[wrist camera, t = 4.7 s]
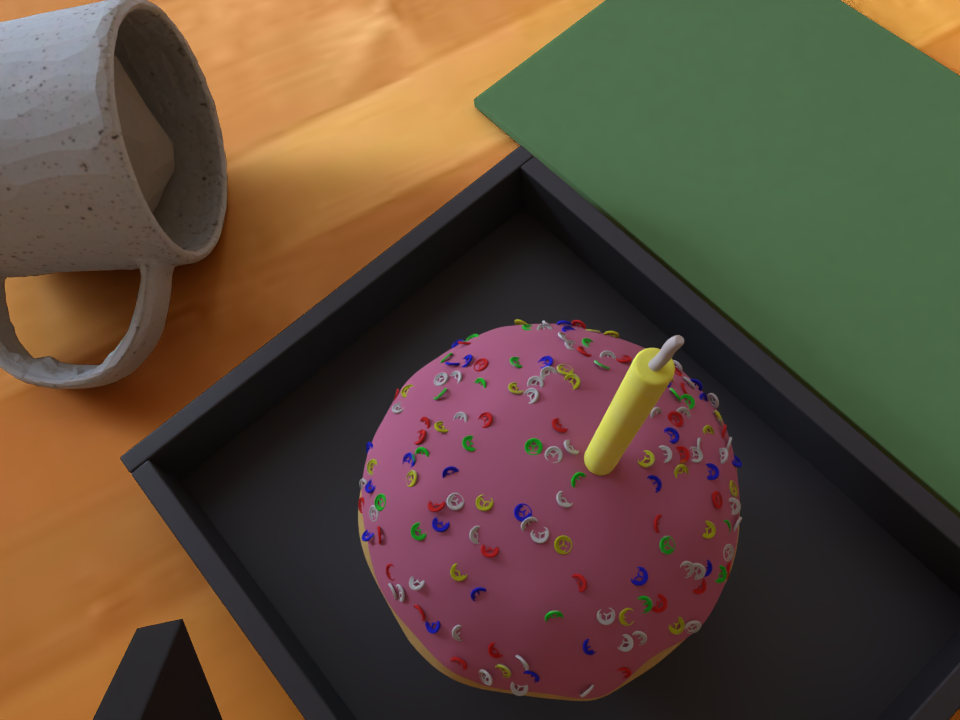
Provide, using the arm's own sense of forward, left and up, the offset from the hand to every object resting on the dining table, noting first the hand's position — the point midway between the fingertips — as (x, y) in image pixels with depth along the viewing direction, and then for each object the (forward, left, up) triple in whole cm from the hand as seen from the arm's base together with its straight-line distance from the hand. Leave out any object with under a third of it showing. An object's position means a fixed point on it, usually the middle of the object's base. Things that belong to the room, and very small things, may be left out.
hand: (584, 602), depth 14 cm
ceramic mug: (-19, -3, -9) cm, 22 cm away
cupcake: (-2, +1, -9) cm, 9 cm away
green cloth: (-6, +16, -9) cm, 19 cm away
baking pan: (-2, +1, -9) cm, 9 cm away
